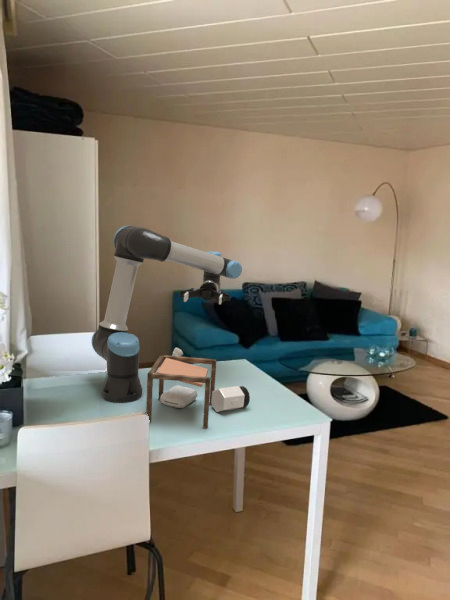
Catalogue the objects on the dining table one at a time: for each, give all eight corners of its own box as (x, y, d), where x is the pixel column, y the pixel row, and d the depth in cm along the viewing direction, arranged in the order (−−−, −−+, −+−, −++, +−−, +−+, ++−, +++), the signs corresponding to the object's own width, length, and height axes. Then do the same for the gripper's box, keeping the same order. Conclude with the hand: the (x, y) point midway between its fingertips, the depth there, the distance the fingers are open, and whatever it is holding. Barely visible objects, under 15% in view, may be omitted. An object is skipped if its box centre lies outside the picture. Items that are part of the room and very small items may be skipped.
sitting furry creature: (160, 372, 213) (161, 346, 211) (176, 369, 218) (178, 343, 216) (171, 379, 206) (172, 352, 204) (188, 375, 211) (189, 349, 209)
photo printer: (174, 394, 189) (157, 405, 178) (174, 383, 189) (157, 394, 178) (197, 399, 185) (181, 411, 174) (198, 389, 184) (181, 400, 173)
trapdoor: (156, 374, 163) (156, 372, 163) (165, 360, 178) (166, 357, 178) (201, 387, 162) (202, 384, 162) (207, 371, 178) (207, 369, 178)
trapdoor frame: (146, 422, 164) (147, 373, 160) (159, 398, 184) (160, 354, 181) (207, 428, 162) (210, 379, 159) (213, 403, 183) (216, 359, 179)
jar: (225, 392, 171) (251, 388, 178) (212, 385, 177) (237, 382, 185) (223, 416, 172) (248, 411, 179) (209, 408, 178) (235, 404, 186)
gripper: (237, 301, 206) (234, 311, 185) (179, 296, 207) (169, 306, 187) (238, 283, 204) (235, 292, 183) (180, 279, 206) (170, 287, 185)
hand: (202, 299), depth 185 cm, fingers open, 13 cm apart
